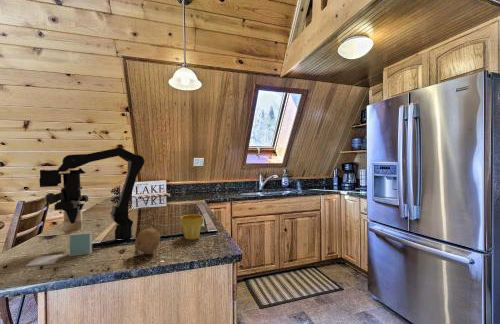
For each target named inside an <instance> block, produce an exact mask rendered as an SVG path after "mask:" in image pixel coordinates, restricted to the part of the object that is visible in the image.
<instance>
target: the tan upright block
mask: <svg viewBox="0 0 500 324" xmlns="http://www.w3.org/2000/svg"><path fill="white" fill-rule="evenodd" d="M83 221H84V220H83V209H82V210H79V211H78V214H77V217H76V220H75V222H74V223H71V222H70V220H69V217H68V215H67V213H66V212H65V211H64V210H63V227H64V228H63V230H64V233H63V235H64V236H66V235H68V236H69V235H70V234H71V233H82V232H83V230H84V223H83Z"/></svg>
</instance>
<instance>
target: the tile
mask: <svg viewBox="0 0 500 324" xmlns="http://www.w3.org/2000/svg"><path fill="white" fill-rule="evenodd" d="M92 234H93V232H92V231H86V232H80V233H71V234H68V238H69V239H68V244H69V245H68V248H69V252H68V253H69V257H71V256H81V255H88V254H89V255H90V254H92V253H93V237H92V236H93V235H92Z"/></svg>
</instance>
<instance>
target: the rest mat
mask: <svg viewBox="0 0 500 324" xmlns="http://www.w3.org/2000/svg"><path fill="white" fill-rule="evenodd" d="M63 255H64V254H63V253H62V254H52V255H43V256H42V255H40V256H36V257H35V258H34V259H32V260H31V261H30V262H28V263H27V264H25V267H26V268H27V267H36V266H45V265H54V264H56V262H58V260H60V259H61V258H62V257H63Z"/></svg>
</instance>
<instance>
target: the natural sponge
mask: <svg viewBox="0 0 500 324" xmlns="http://www.w3.org/2000/svg"><path fill="white" fill-rule="evenodd" d="M138 233H139V234H138V235H137V237H136V239H135V241H134V248H135V249H136V250H138V251H140V252H143V253H144V254H146V255H148V256H149V255H152V254H153V253H155V252H156V250H157V249H158V246H159V245H160V241H161V235H160V232H159V231H158V230H156V229H155V228H145V229H143V230H141V231H140V232H138Z"/></svg>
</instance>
